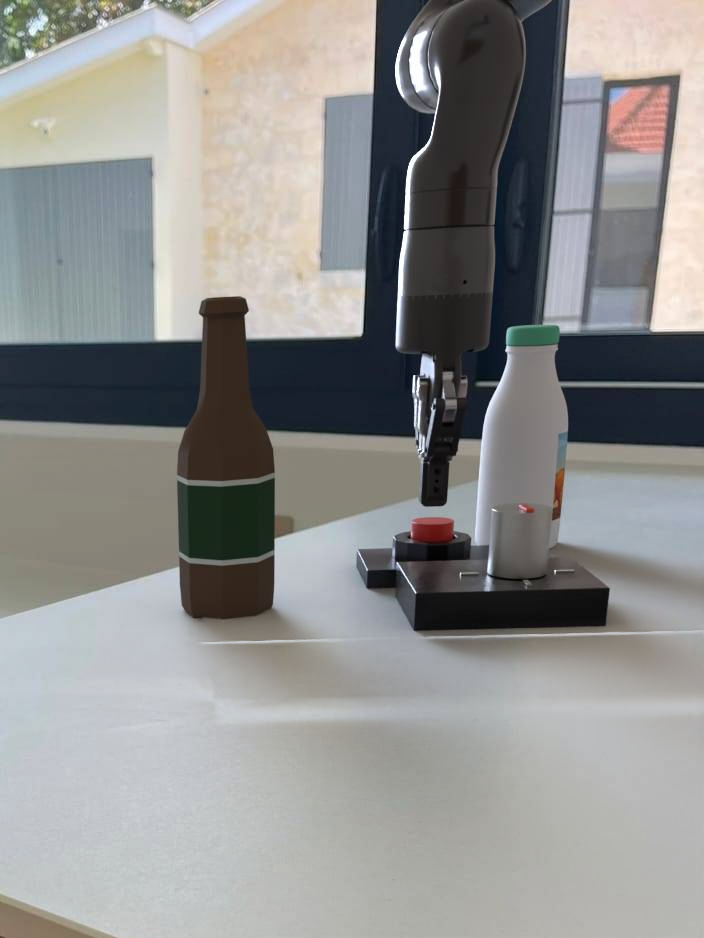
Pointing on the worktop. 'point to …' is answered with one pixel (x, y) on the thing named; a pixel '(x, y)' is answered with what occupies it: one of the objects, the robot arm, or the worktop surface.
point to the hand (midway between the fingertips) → (432, 504)
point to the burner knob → (519, 540)
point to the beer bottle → (225, 480)
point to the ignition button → (432, 529)
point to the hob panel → (498, 596)
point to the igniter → (413, 556)
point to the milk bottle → (524, 431)
